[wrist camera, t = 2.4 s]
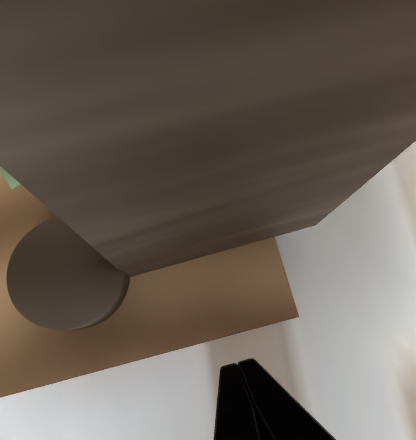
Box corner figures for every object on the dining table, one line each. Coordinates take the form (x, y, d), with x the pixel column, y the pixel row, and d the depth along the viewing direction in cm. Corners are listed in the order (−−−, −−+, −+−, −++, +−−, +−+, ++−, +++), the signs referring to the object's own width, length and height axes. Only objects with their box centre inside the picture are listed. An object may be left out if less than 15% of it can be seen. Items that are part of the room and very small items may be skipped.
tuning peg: (327, 257, 17) (845, -21, 4) (36, 343, 16) (-998, 418, 2) (262, 88, 20) (427, -455, 6) (5, 146, 18) (-559, -421, 4)
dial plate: (290, 317, 18) (299, 316, 17) (2, 395, 17) (-16, 401, 15) (221, 91, 22) (223, 74, 20) (-23, 138, 20) (-40, 123, 19)
